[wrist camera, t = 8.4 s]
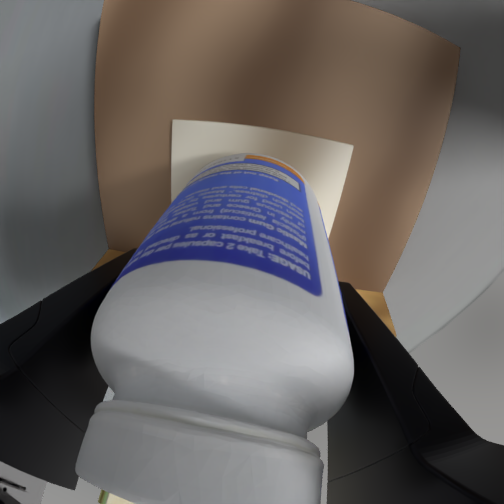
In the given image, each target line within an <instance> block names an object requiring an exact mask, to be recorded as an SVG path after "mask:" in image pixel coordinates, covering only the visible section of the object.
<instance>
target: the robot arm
mask: <svg viewBox="0 0 504 504" xmlns="http://www.w3.org/2000/svg"><path fill="white" fill-rule="evenodd" d="M137 249H138V248H133V249H131V250H129V251H128V252H126V253H124V254H122V255H120V256H118V257H116V258H114V259H113V260H111V261H109V262H107V263H105V264H103V265H102V266H100V267H98V268H96V269H94V270H92V271H91V272H89V273H87V274H85V275H84V276H82V277H80V278H78V279H77V280H75V281H73V282H71V283H70V284H68V285H66V286H64V287H63V288H61V289H59V290H58V291H56V292H54V293H53V294H51V295H49V296H48V297H46V298H44V299H43V301H39V302H38V303H36V304H34V305H33V306H31V307H29V308H28V309H26V310H24V311H23V312H21V313H20V314H18V315H16V316H14V317H12V318H11V319H9V320H7V321H5V322H3V323H2V324H0V504H41V501H42V497H43V494H44V490H45V487H46V483H47V482H50V483H53V484H56V485H59V486H62V487H65V488H68V489H72V490H75V488H76V485H77V481H78V477H79V476H78V475H77V474H76V471H75V467H76V462H77V458H78V455H79V452H80V448H81V445H82V442H83V439H84V436H85V433H86V431H87V428H88V425H89V421H90V418H91V417H92V416H93V415H94V414H95V412H94V411H95V408H96V406H97V405H98V404H99V403H101V402H103V399H104V397H105V394H106V391H107V389H108V385H107V383H106V382H105V380H104V379H103V378H102V376H101V374H100V372H99V371H98V368H97V366H96V364H95V361H94V358H93V354H92V349H91V330H92V325H93V321H94V318H95V315H96V313H97V311H98V309H99V307H100V305H101V304H102V302H103V300H104V299H105V297H106V295H107V294H108V292H109V290H110V289H111V287H112V285H113V284H114V282H115V281H116V279H117V278H118V276H119V275H120V273H121V272H122V270H123V269H124V267H125V266H126V265H127V263H128V262H129V261H130V259H131V258H132V256H133V255H134V253H135V252H136V250H137ZM338 283H339V287H340V291H341V296H342V300H343V305H344V309H345V314H346V319H347V324H348V329H349V336H350V341H351V347H352V353H353V359H354V377H353V382H352V386H351V389H350V392H349V395H348V397H347V399H346V401H345V403H344V404H343V405H342V407H341V408H340V409H339V411H338V412H337V413H336V414H335V415H334V416H333V417H332V418H330V419H329V420H328V421H327V423H328V483H327V504H504V445H500V444H496V443H492V442H489V441H486V440H485V439H482V438H481V437H480V436H478V435H477V434H476V433H475V432H474V431H473V430H472V429H471V428H470V427H469V426H468V424H467V423H466V422H465V421H464V420H463V419H462V418H461V416H460V415H459V414H458V413H457V412H456V411H455V409H454V408H453V407H451V405H450V404H449V403H448V402H447V400H446V399H445V398H444V397H443V396H442V394H441V393H440V392H439V391H438V390H437V389H436V387H435V386H434V385H433V384H432V382H431V381H430V380H429V378H428V377H427V376H426V375H425V373H424V372H423V371H422V369H421V368H420V367H418V365H417V363H416V362H415V361H414V359H413V358H412V357H411V356H410V354H409V353H408V352H407V351H406V349H405V348H404V347H403V346H402V344H401V343H400V342H399V341H398V339H397V338H396V337H395V336H394V334H393V333H392V332H391V331H390V330H389V328H388V327H387V326H386V325H385V324H384V322H383V321H382V320H381V319H380V318H379V316H378V315H377V314H376V313H375V312H374V310H373V309H372V308H371V307H370V306H369V305H368V303H367V302H366V301H365V300H364V299H363V298H362V296H361V295H360V294H359V293H358V292H357V291H356V290H355V288H354V287H353V286H352V285H351V284H350V283H348V282H342V281H338Z"/></svg>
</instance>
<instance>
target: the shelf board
mask: <svg viewBox="0 0 504 504" xmlns="http://www.w3.org/2000/svg"><path fill="white" fill-rule="evenodd" d="M459 57H460V47H458V46H456V45H455V44H453V43H451V42H449V41H448V40H446V39H444V38H442V37H440V36H438V35H437V34H435V33H433V32H431V31H429V30H427V29H425V28H423V27H420V26H418V25H416V24H414V23H412V22H409V21H407V20H405V19H402V18H400V17H398V16H395V15H393V14H390V13H387V12H385V11H382V10H379V9H376V8H373V7H370V6H367V5H364V4H361V3H358V2H354V1H351V0H104V4H103V9H102V15H101V21H100V28H99V36H98V45H97V56H96V69H95V93H94V122H95V146H96V161H97V172H98V182H99V191H100V199H101V206H102V213H103V219H104V225H105V231H106V237H107V242H108V247H109V249H108V251H107V252H106V253H105V254H104V256H103V257H102V258H101V259H100V260H99V262H98V263H97V264H96V266H95V267H94V268H93V269H92V270H94V269H96V268H98V267H100V266H102V265H103V264H105V263H107V262H109V261H111V260H113V259H114V258H116V257H118V256H120V255H122V254H124V253H126V252H128V251H129V250H131V249H133V248H139V246H140V245H141V243H142V242H143V241H144V239H145V238H146V236H147V235H148V234H149V232H150V231H151V229H152V228H153V227H154V225H155V224H156V223H157V222H158V220H159V219H160V218H161V216H162V215H163V214H164V212H165V211H166V210H167V209H168V207H169V206H170V205H171V203H172V202H173V201H174V199H175V198H176V197H177V196H178V194H179V193H180V192H181V191H182V189H183V188H184V187H185V186H186V185H187V183H188V182H189V181H190V180H191V179H192V178H193V177H194V176H195V175H196V174H197V173H198V172H199V171H200V170H201V169H202V168H204V167H205V166H206V165H208V164H210V163H211V162H213V161H215V160H217V159H220V158H223V157H226V156H230V155H234V154H241V153H255V154H262V155H267V156H270V157H273V158H276V159H279V160H281V161H283V162H285V163H287V164H288V165H290V166H291V167H293V168H294V169H295V170H297V171H298V172H299V173H300V174H301V175H302V176H303V177H304V178H305V179H306V181H307V182H308V183H309V185H310V186H311V188H312V190H313V192H314V194H315V196H316V198H317V201H318V203H319V206H320V209H321V214H322V218H323V221H324V225H325V229H326V233H327V237H328V241H329V245H330V249H331V253H332V257H333V261H334V265H335V270H336V274H337V278H338V281H342V282H348V283H350V284H351V285H352V286H353V287H354V288H355V290H356V291H357V292H358V293H359V294H360V295H361V296H362V298H363V299H364V300H365V301H366V302H367V303H368V305H369V306H370V307H371V308H372V309H373V310H374V312H375V313H376V314H377V315H378V316H379V318H380V319H381V320H382V321H383V322H384V324H385V325H386V326H387V327H388V328H389V330H390V331H391V332H392V333H393V334H394V336H395V337H396V332H395V329H394V326H393V323H392V319H391V316H390V313H389V310H388V307H387V304H386V301H385V298H384V296H383V291H384V289H385V287H386V285H387V283H388V281H389V279H390V277H391V275H392V273H393V271H394V269H395V267H396V265H397V263H398V261H399V259H400V257H401V254H402V252H403V250H404V248H405V246H406V243H407V241H408V239H409V236H410V234H411V232H412V229H413V227H414V225H415V222H416V220H417V217H418V215H419V212H420V210H421V207H422V204H423V202H424V199H425V196H426V193H427V191H428V188H429V185H430V182H431V179H432V176H433V173H434V170H435V167H436V164H437V160H438V157H439V154H440V150H441V147H442V143H443V139H444V136H445V132H446V128H447V124H448V119H449V115H450V111H451V106H452V101H453V96H454V91H455V85H456V79H457V72H458V65H459Z"/></svg>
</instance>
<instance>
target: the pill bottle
mask: <svg viewBox="0 0 504 504" xmlns="http://www.w3.org/2000/svg"><path fill="white" fill-rule="evenodd" d="M91 349H92V354H93V358H94V361H95V364H96V366H97V368H98V371H99V372H100V374H101V376H102V378H103V379H104V380H105V382H106V383H107V385H108V386H109V387H110V388H111V389H112V390H113V392H114V393H115V395H114V397H113V400H110V401H104V402H101V403H99V404H98V405H97V406H96V408H95V411H94V412H95V414H94V415H93V416H92V417H91V418H90V421H89V425H88V428H87V431H86V433H85V436H84V439H83V442H82V445H81V448H80V452H79V455H78V458H77V462H76V467H75V471H76V474H77V475H78V476H79V477H80V478H82V479H84V480H85V481H87V482H89V483H91V484H92V485H94V486H96V487H98V488H100V489H102V490H104V491H106V492H108V493H111V494H113V495H115V496H118V497H120V498H123V499H125V500H128V501H130V502H133V503H135V504H320V500H321V487H322V473H323V468H324V464H323V462H322V460H321V459H320V451H319V448H318V447H317V446H316V445H315V444H313V443H312V442H310V441H309V440H307V432H309V431H311V430H313V429H315V428H317V427H319V426H321V425H322V424H324V423H325V422H326V421H328V420H329V419H330V418H332V417H333V416H334V415H335V414H336V413H337V412H338V411H339V409H340V408H341V407H342V405H343V404H344V403H345V401H346V399H347V397H348V395H349V392H350V389H351V386H352V382H353V377H354V359H353V353H352V347H351V341H350V336H349V329H348V324H347V319H346V314H345V309H344V305H343V300H342V296H341V291H340V287H339V283H338V278H337V274H336V270H335V265H334V261H333V257H332V253H331V249H330V245H329V241H328V237H327V233H326V229H325V225H324V221H323V218H322V214H321V209H320V206H319V203H318V201H317V198H316V196H315V194H314V192H313V190H312V188H311V186H310V185H309V183H308V182H307V181H306V179H305V178H304V177H303V176H302V175H301V174H300V173H299V172H298V171H297V170H295V169H294V168H293V167H291V166H290V165H288V164H287V163H285V162H283V161H281V160H279V159H276V158H273V157H270V156H267V155H262V154H255V153H241V154H234V155H230V156H226V157H223V158H220V159H217V160H215V161H213V162H211V163H210V164H208V165H206V166H205V167H204V168H202V169H201V170H200V171H199V172H198V173H197V174H196V175H195V176H194V177H193V178H192V179H191V180H190V181H189V182H188V183H187V185H186V186H185V187H184V188H183V189H182V191H181V192H180V193H179V194H178V196H177V197H176V198H175V199H174V201H173V202H172V203H171V205H170V206H169V207H168V209H167V210H166V211H165V212H164V214H163V215H162V216H161V218H160V219H159V220H158V222H157V223H156V224H155V225H154V227H153V228H152V229H151V231H150V232H149V234H148V235H147V236H146V238H145V239H144V241H143V242H142V243H141V245H140V246H139V248H138V249H137V250H136V252H135V253H134V255H133V256H132V258H131V259H130V261H129V262H128V263H127V265H126V266H125V267H124V269H123V270H122V272H121V273H120V275H119V276H118V278H117V279H116V281H115V282H114V284H113V285H112V287H111V289H110V290H109V292H108V294H107V295H106V297H105V299H104V300H103V302H102V304H101V305H100V307H99V309H98V311H97V313H96V315H95V318H94V321H93V325H92V330H91Z"/></svg>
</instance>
